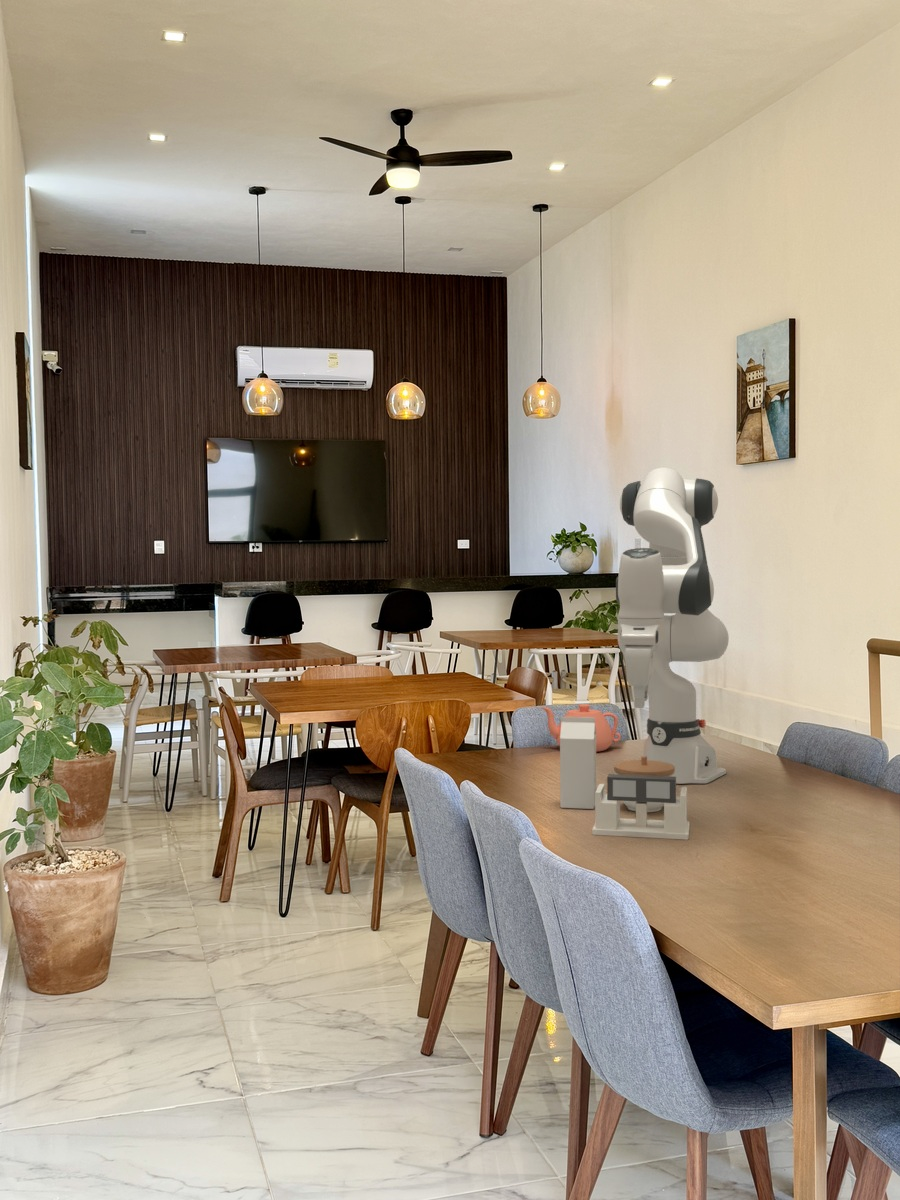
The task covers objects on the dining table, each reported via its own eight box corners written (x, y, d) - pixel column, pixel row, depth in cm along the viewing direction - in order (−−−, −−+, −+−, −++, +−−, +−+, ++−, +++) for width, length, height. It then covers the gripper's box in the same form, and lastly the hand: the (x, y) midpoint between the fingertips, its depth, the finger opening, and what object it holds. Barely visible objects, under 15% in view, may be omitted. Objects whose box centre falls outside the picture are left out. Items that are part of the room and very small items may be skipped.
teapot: (543, 755, 291) (543, 708, 291) (538, 744, 307) (538, 701, 306) (625, 754, 291) (625, 708, 291) (616, 744, 307) (616, 700, 306)
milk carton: (594, 809, 228) (593, 720, 228) (560, 808, 230) (559, 719, 229) (596, 802, 235) (596, 715, 235) (563, 801, 237) (563, 714, 236)
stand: (592, 834, 208) (592, 793, 208) (597, 822, 218) (597, 782, 218) (688, 839, 204) (688, 797, 204) (689, 826, 214) (689, 786, 213)
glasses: (607, 800, 211) (607, 777, 211) (608, 796, 214) (608, 773, 214) (675, 803, 208) (675, 779, 208) (676, 799, 211) (676, 776, 211)
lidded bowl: (638, 818, 221) (638, 764, 220) (602, 805, 232) (602, 754, 232) (687, 811, 227) (687, 758, 226) (649, 799, 238) (649, 749, 237)
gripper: (628, 628, 220) (629, 696, 221) (620, 636, 200) (620, 711, 201) (660, 628, 219) (660, 697, 219) (654, 636, 199) (655, 712, 199)
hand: (641, 703), depth 210 cm, fingers open, 8 cm apart
